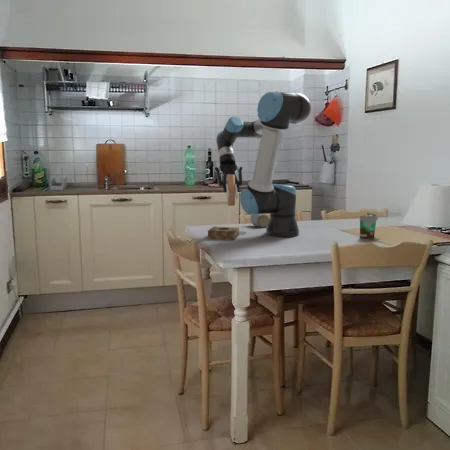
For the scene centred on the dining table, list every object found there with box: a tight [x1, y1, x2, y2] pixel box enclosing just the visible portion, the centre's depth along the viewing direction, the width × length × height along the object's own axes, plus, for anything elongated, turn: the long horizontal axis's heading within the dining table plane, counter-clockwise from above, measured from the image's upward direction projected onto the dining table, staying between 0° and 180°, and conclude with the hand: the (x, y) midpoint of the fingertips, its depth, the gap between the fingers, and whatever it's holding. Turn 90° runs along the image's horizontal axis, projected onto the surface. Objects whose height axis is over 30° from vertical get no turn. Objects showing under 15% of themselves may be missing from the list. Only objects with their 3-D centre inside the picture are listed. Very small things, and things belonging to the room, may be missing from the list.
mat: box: [239, 230, 248, 236], centre depth 223 cm, size 10×8×1 cm
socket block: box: [207, 226, 240, 241], centre depth 213 cm, size 12×10×4 cm
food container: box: [359, 212, 378, 239], centre depth 212 cm, size 12×6×10 cm, turn 148°
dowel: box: [226, 174, 236, 206], centre depth 218 cm, size 3×3×14 cm
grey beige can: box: [249, 213, 270, 228], centre depth 241 cm, size 11×8×8 cm
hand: (232, 196), depth 215 cm, fingers closed on dowel, 3 cm apart
